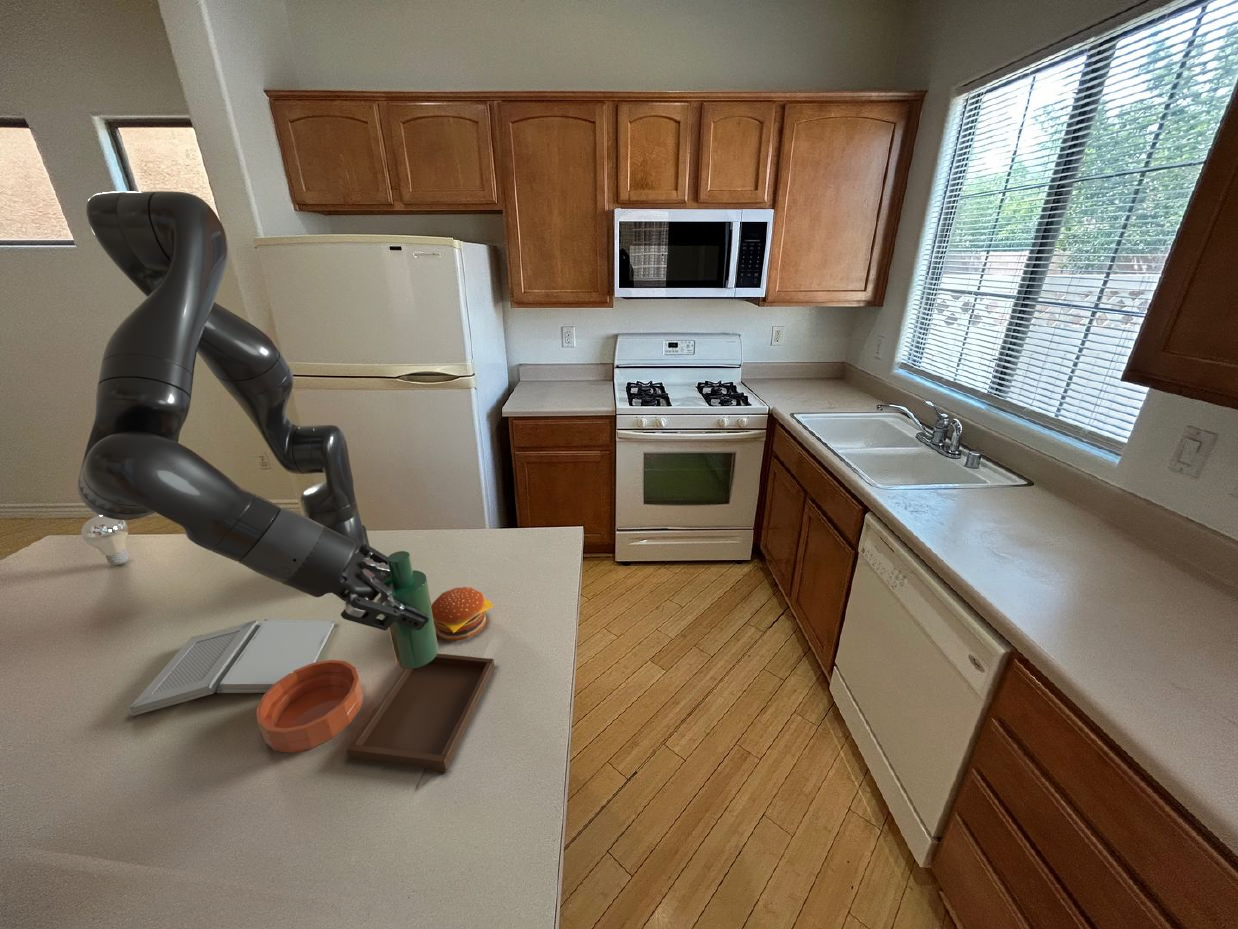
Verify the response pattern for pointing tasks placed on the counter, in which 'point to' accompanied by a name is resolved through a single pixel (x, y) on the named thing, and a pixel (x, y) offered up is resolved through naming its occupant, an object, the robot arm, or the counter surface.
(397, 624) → the bottle
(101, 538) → the light bulb
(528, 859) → the counter surface
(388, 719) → the tray
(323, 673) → the bowl
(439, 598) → the hamburger
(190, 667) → the gadget
